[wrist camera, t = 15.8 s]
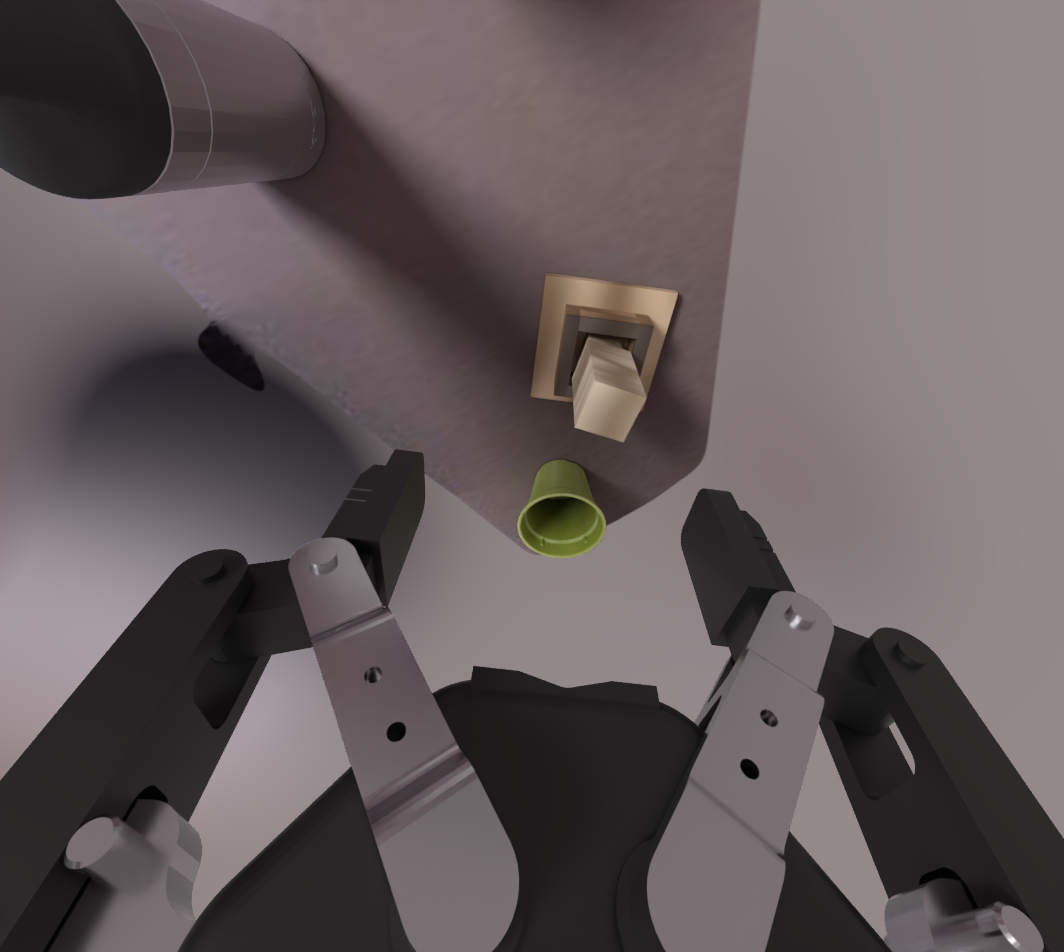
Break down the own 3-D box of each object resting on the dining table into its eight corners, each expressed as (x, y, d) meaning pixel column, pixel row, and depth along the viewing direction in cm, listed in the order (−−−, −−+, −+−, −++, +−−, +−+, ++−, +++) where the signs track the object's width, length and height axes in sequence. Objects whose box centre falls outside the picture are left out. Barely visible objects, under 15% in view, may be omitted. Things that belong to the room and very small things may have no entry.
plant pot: (611, 494, 55) (618, 544, 48) (543, 517, 58) (540, 567, 51) (582, 435, 50) (585, 482, 43) (509, 463, 53) (501, 511, 46)
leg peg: (571, 361, 44) (574, 427, 33) (585, 322, 42) (594, 381, 31) (608, 373, 44) (623, 442, 34) (625, 336, 42) (646, 397, 32)
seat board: (530, 392, 47) (528, 412, 44) (546, 272, 40) (544, 284, 36) (641, 406, 48) (648, 428, 44) (675, 290, 40) (687, 304, 37)
